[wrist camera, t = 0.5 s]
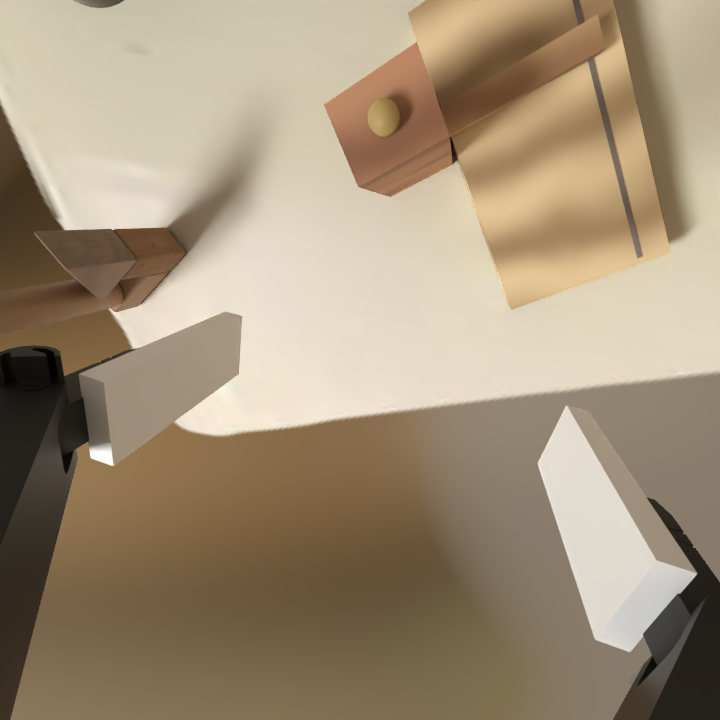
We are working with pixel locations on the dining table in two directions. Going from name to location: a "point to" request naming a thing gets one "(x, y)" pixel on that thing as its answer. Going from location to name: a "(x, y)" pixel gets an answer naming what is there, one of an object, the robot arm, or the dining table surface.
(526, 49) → the board
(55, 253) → the wooden post assembly
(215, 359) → the robot arm
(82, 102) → the dining table surface
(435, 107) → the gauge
